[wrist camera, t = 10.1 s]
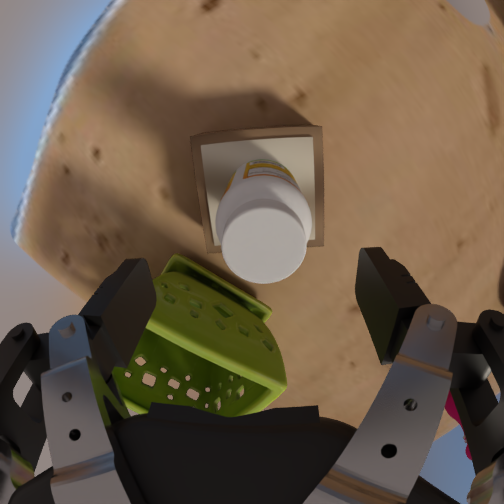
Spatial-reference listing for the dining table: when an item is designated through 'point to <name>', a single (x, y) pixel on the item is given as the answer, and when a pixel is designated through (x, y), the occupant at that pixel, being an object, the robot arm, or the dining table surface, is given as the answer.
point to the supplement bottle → (263, 222)
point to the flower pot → (204, 346)
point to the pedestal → (251, 148)
